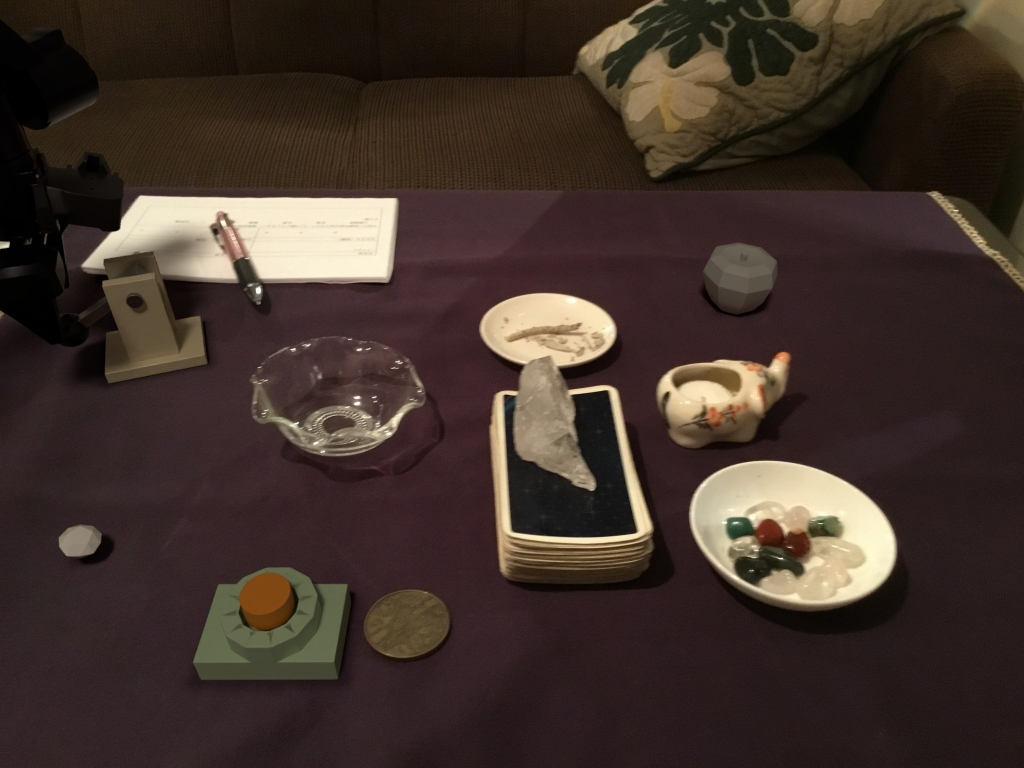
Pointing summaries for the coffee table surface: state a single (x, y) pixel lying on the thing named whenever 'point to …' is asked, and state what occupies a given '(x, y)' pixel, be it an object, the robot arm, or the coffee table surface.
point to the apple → (739, 277)
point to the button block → (276, 634)
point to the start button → (267, 601)
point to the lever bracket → (147, 324)
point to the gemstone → (80, 541)
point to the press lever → (90, 314)
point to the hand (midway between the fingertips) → (60, 314)
